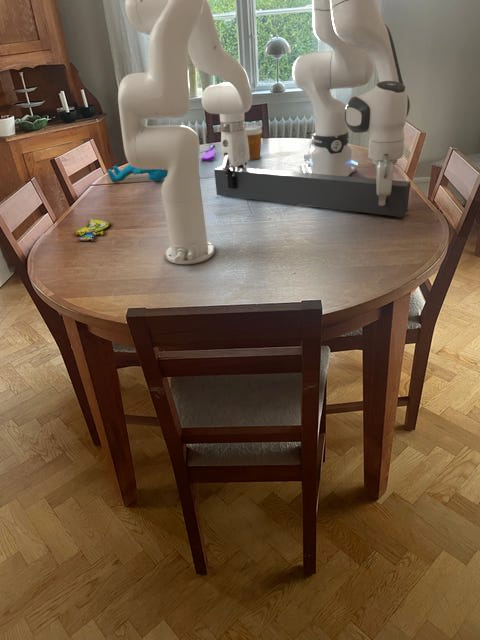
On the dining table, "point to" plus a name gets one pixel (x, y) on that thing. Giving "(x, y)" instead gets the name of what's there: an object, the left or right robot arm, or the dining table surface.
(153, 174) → the toy
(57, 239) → the dining table surface
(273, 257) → the dining table surface
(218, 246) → the dining table surface
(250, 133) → the beer cup
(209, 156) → the musical instrument
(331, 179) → the beam
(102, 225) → the toy
